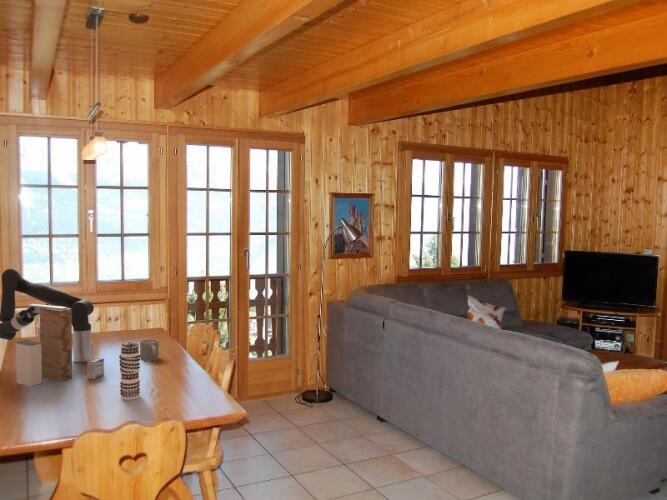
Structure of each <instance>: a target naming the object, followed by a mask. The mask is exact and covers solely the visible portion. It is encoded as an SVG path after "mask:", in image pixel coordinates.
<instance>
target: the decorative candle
mask: <svg viewBox="0 0 667 500" xmlns="http://www.w3.org/2000/svg"><path fill="white" fill-rule="evenodd" d="M119 346H120V355H119V356H118V357H119V366H120V367H119V370H120V371H119V373H120V376H121V377H120V382H119V383H120V385H119V387H120V390H119V391H120V393H119V394H120V396H119V397H120V399H122V400H135V399H138V398H139V397H140V393H141V391H140V390H141V388H140V383H141V381H140V373H139V372H140V369H141V366H140V365H141V363H140V361H141V360H140V357H141V356H140V344H138V343H137V342H136V341H134V340H133V341H131V340H130V341H124V342H123V343H122V344H121V345H119Z"/></svg>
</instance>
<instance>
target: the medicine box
mask: <svg viewBox="0 0 667 500" xmlns="http://www.w3.org/2000/svg"><path fill="white" fill-rule="evenodd" d="M86 363H87V365H86V367H87V369H86V371H87V372H86V373H87V379H88V380H89V379H90V380H96V379H99V378H101V377H103V376H104V375H105V359H104V358H103V357H102V358H101V357H96V358H93V359H92V360H91V361H88V362H86Z"/></svg>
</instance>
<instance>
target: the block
mask: <svg viewBox="0 0 667 500" xmlns="http://www.w3.org/2000/svg"><path fill="white" fill-rule="evenodd" d="M15 358H16V360H15V361H16V362H15V365H16V369H15V370H16V384H18V385H19V384H20V385H23V386H27V387H33V386H37V385H40V384H42V383H43V380H42V379H43V378H42V361H41V342H40V341H36V340H31V339H24V340H19V341H15Z"/></svg>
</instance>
